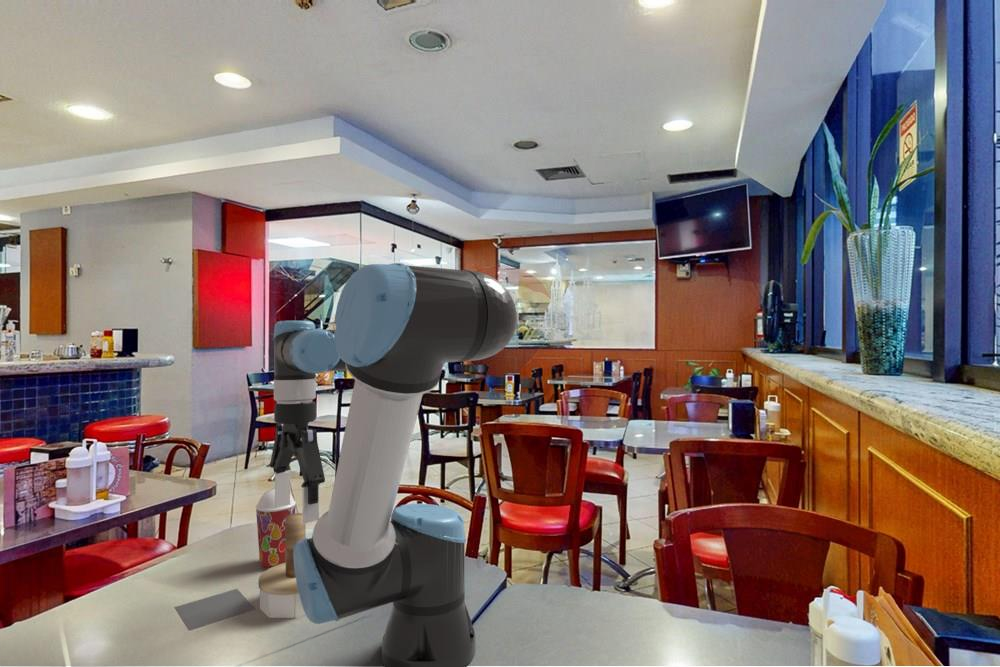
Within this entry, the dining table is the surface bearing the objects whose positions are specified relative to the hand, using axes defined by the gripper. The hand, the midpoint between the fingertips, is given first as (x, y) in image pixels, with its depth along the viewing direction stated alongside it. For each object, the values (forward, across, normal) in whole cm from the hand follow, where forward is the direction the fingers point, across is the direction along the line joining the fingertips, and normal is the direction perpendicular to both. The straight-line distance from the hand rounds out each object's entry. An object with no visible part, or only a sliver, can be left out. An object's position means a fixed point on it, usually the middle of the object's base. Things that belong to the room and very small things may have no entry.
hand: (296, 513), depth 104 cm
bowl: (+18, +1, 0) cm, 18 cm away
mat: (+18, +9, +12) cm, 23 cm away
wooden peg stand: (+13, +1, 0) cm, 13 cm away
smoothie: (+18, +22, -4) cm, 28 cm away
